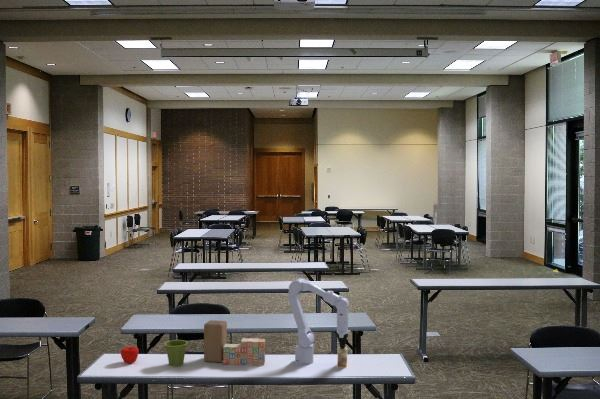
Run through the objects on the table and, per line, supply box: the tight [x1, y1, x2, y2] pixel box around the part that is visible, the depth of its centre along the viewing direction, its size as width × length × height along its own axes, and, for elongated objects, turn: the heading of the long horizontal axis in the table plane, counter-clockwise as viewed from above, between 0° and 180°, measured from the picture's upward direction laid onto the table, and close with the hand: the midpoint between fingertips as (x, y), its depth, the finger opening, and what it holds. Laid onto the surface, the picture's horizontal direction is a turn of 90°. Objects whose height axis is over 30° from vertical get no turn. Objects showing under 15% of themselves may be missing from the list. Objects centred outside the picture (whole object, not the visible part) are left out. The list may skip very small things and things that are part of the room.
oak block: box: [337, 357, 348, 368], centre depth 293 cm, size 4×4×4 cm
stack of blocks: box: [222, 337, 266, 366], centre depth 299 cm, size 21×6×12 cm, turn 89°
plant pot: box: [164, 339, 189, 367], centre depth 296 cm, size 12×12×11 cm
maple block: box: [337, 346, 348, 359], centre depth 293 cm, size 4×4×4 cm
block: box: [203, 319, 228, 363], centre depth 304 cm, size 10×10×20 cm
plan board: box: [335, 362, 350, 369], centre depth 290 cm, size 14×16×1 cm
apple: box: [120, 346, 139, 364], centre depth 299 cm, size 9×9×8 cm
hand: (342, 348), depth 293 cm, fingers closed, pressing on maple block
